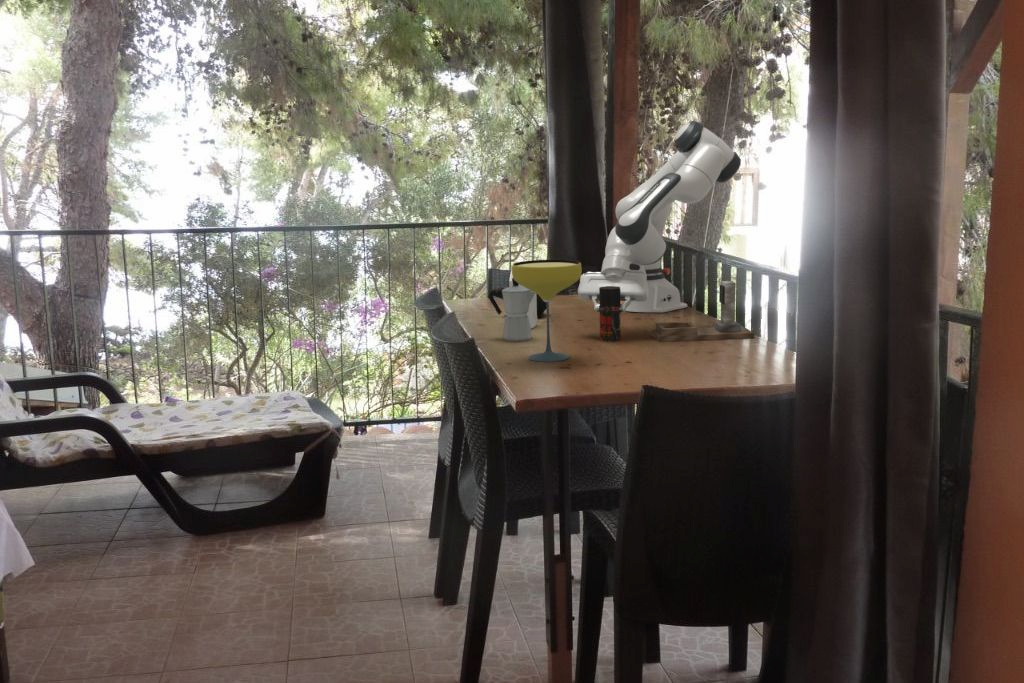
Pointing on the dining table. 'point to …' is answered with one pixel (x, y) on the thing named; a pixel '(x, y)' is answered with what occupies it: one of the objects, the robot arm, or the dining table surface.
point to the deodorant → (610, 313)
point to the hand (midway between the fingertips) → (609, 311)
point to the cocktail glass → (547, 289)
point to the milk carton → (532, 306)
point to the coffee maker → (514, 311)
